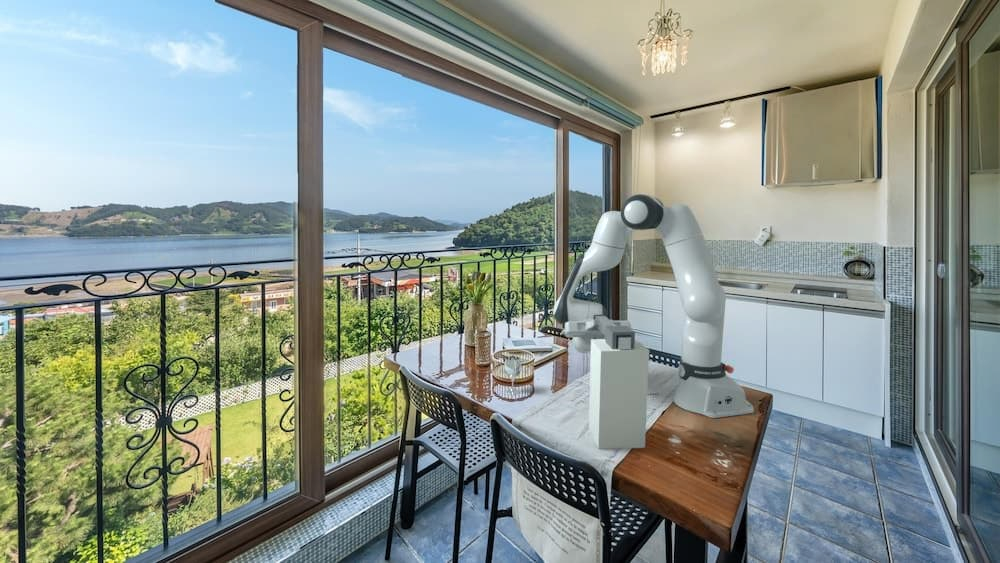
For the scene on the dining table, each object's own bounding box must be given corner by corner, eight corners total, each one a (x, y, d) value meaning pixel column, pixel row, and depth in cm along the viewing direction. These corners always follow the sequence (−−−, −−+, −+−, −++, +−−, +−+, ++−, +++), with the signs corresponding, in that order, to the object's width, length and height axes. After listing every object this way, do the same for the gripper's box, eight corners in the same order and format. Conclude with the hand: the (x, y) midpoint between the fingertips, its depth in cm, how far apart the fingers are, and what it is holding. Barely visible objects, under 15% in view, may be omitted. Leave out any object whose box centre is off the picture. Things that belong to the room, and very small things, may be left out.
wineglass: (519, 396, 133) (519, 361, 131) (503, 394, 134) (502, 360, 132) (522, 388, 138) (522, 355, 136) (506, 387, 139) (505, 355, 138)
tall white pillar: (631, 427, 111) (635, 323, 107) (644, 447, 102) (650, 333, 97) (588, 428, 111) (591, 323, 107) (598, 448, 101) (601, 334, 97)
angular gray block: (603, 324, 122) (603, 314, 121) (630, 349, 98) (631, 337, 98) (593, 324, 122) (593, 314, 121) (618, 349, 98) (618, 337, 98)
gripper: (559, 324, 131) (567, 312, 118) (621, 323, 131) (635, 311, 118) (561, 343, 128) (568, 333, 115) (623, 342, 129) (638, 332, 116)
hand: (603, 322), depth 117 cm, fingers closed on angular gray block, 3 cm apart
